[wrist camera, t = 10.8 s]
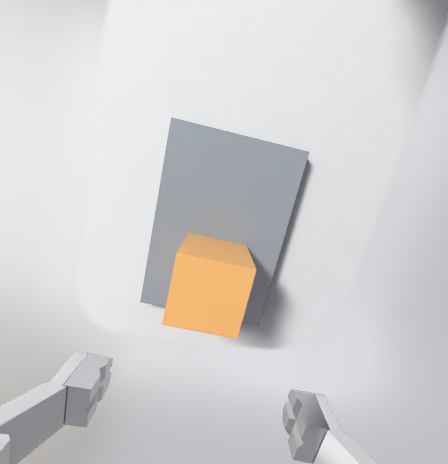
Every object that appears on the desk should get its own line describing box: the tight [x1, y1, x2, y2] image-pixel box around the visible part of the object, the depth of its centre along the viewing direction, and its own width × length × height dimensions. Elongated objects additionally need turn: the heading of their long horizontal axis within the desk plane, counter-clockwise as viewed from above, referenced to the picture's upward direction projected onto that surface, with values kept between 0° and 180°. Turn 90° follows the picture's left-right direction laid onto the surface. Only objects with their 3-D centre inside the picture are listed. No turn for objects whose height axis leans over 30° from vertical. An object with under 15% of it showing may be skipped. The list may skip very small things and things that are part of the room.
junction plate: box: [141, 118, 309, 325], centre depth 23 cm, size 20×14×6 cm
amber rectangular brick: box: [162, 233, 257, 339], centre depth 22 cm, size 6×6×7 cm
